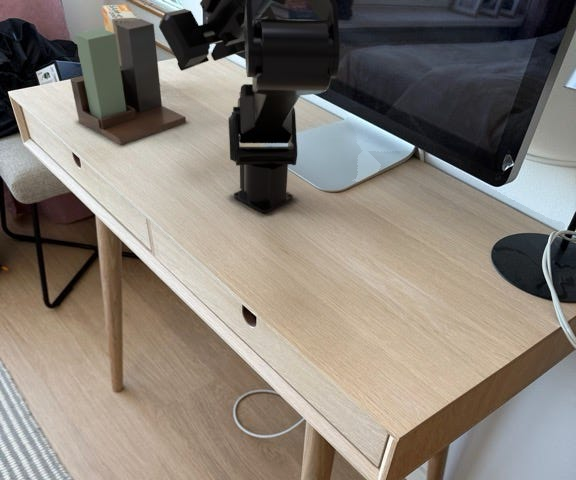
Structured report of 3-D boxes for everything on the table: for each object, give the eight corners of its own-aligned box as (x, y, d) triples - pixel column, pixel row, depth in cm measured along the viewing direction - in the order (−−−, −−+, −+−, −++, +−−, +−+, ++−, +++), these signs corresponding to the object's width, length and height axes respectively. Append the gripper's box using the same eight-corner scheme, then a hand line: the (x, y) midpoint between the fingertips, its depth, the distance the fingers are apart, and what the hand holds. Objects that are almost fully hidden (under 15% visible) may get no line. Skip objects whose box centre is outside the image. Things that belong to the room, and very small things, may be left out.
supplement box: (112, 82, 112) (100, 4, 102) (136, 80, 114) (126, 3, 104) (122, 97, 107) (110, 17, 97) (147, 95, 109) (138, 16, 99)
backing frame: (186, 122, 101) (179, 33, 91) (119, 145, 93) (104, 51, 83) (144, 102, 106) (133, 15, 96) (78, 122, 99) (58, 30, 88)
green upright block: (127, 118, 98) (115, 33, 89) (103, 125, 96) (87, 39, 86) (115, 111, 100) (102, 28, 91) (91, 119, 97) (74, 33, 88)
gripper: (267, -77, 77) (213, 0, 90) (160, -64, 67) (117, 21, 80) (306, 4, 79) (249, 68, 92) (209, 29, 69) (160, 97, 82)
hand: (197, 62), depth 86 cm, fingers open, 6 cm apart
